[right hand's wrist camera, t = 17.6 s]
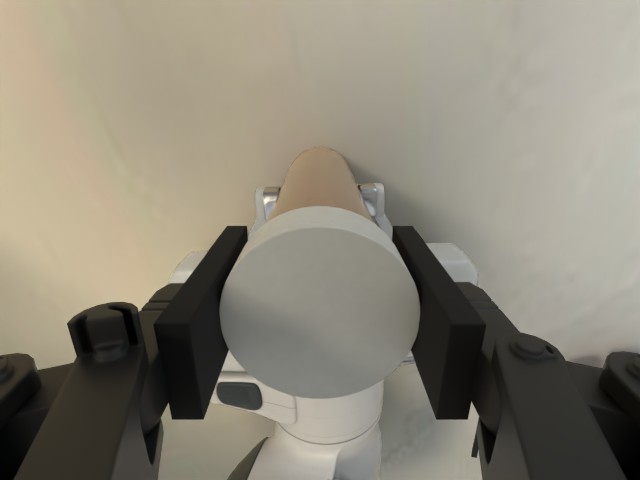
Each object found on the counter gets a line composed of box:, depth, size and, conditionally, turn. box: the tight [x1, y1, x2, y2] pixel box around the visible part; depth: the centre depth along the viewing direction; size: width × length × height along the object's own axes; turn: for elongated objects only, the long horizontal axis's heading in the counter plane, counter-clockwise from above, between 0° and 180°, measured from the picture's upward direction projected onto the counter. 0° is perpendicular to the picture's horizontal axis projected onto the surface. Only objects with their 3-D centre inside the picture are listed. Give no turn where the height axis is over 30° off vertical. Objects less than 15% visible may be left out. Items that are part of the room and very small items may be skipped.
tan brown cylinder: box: [265, 147, 375, 224], centre depth 20 cm, size 5×5×19 cm
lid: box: [219, 206, 420, 399], centre depth 11 cm, size 6×6×2 cm
